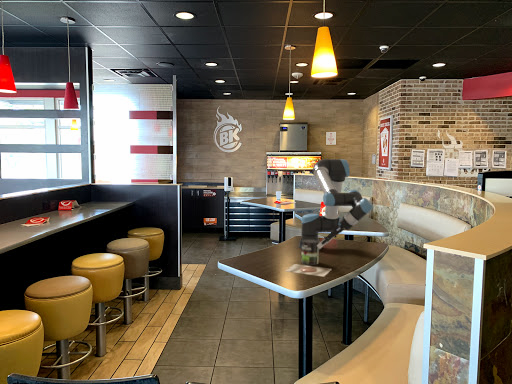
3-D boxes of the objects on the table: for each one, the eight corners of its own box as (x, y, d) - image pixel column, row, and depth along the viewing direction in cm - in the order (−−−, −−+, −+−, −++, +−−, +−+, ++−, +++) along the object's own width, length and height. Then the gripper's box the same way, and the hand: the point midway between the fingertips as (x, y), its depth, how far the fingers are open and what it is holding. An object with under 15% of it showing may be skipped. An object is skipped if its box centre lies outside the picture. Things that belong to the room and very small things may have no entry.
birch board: (284, 272, 213) (284, 270, 213) (294, 265, 227) (294, 264, 227) (324, 278, 204) (324, 276, 204) (331, 270, 218) (331, 268, 218)
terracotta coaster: (298, 270, 213) (298, 270, 213) (303, 266, 221) (303, 266, 221) (314, 273, 209) (314, 272, 209) (318, 269, 218) (318, 268, 218)
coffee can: (312, 267, 223) (312, 243, 222) (297, 264, 230) (298, 240, 229) (322, 264, 231) (322, 240, 230) (307, 261, 238) (308, 238, 237)
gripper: (348, 229, 206) (320, 254, 214) (357, 222, 229) (331, 245, 236) (338, 218, 208) (310, 243, 215) (348, 213, 230) (323, 236, 238)
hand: (321, 244), depth 226 cm, fingers open, 13 cm apart
